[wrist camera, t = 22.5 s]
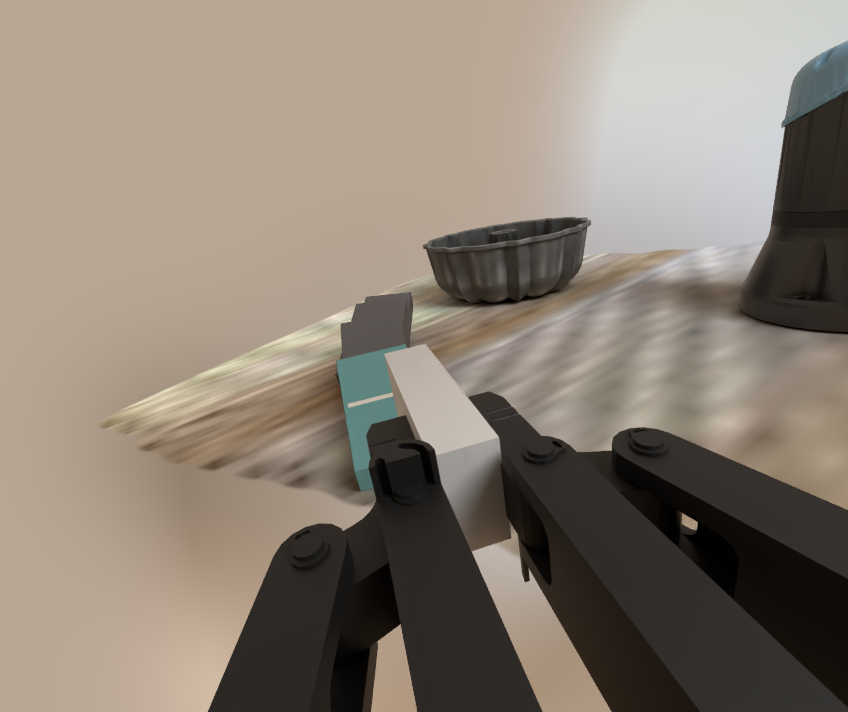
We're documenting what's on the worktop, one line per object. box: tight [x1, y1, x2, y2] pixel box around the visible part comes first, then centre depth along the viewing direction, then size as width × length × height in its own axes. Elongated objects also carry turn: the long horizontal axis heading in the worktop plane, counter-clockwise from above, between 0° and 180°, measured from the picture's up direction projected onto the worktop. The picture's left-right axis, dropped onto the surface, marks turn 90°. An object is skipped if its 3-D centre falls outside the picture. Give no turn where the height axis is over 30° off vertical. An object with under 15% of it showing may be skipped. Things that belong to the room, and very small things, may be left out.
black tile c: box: [365, 292, 413, 348], centre depth 50 cm, size 6×2×12 cm
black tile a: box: [341, 313, 407, 359], centre depth 38 cm, size 6×2×12 cm
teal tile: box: [336, 344, 407, 492], centre depth 31 cm, size 6×2×12 cm
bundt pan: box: [423, 217, 591, 303], centre depth 68 cm, size 26×26×10 cm
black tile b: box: [336, 299, 409, 387], centre depth 44 cm, size 6×2×12 cm
